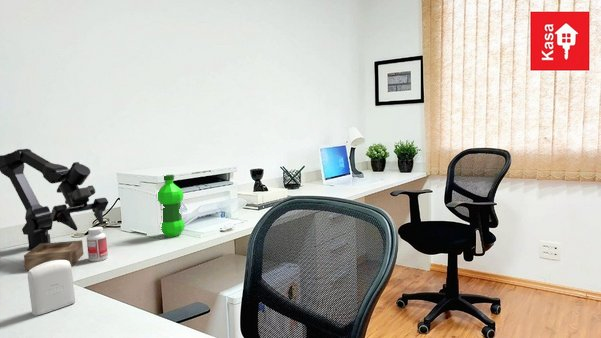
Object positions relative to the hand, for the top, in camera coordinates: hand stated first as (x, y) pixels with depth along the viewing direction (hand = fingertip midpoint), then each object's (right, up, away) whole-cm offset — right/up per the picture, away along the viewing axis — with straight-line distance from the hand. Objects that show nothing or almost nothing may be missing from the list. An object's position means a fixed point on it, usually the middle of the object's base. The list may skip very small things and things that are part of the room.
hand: (89, 227), depth 157 cm
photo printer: (+11, -16, -42) cm, 46 cm away
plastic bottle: (+22, -7, +27) cm, 35 cm away
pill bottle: (+4, -11, -2) cm, 12 cm away
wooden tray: (-10, -12, -3) cm, 16 cm away
